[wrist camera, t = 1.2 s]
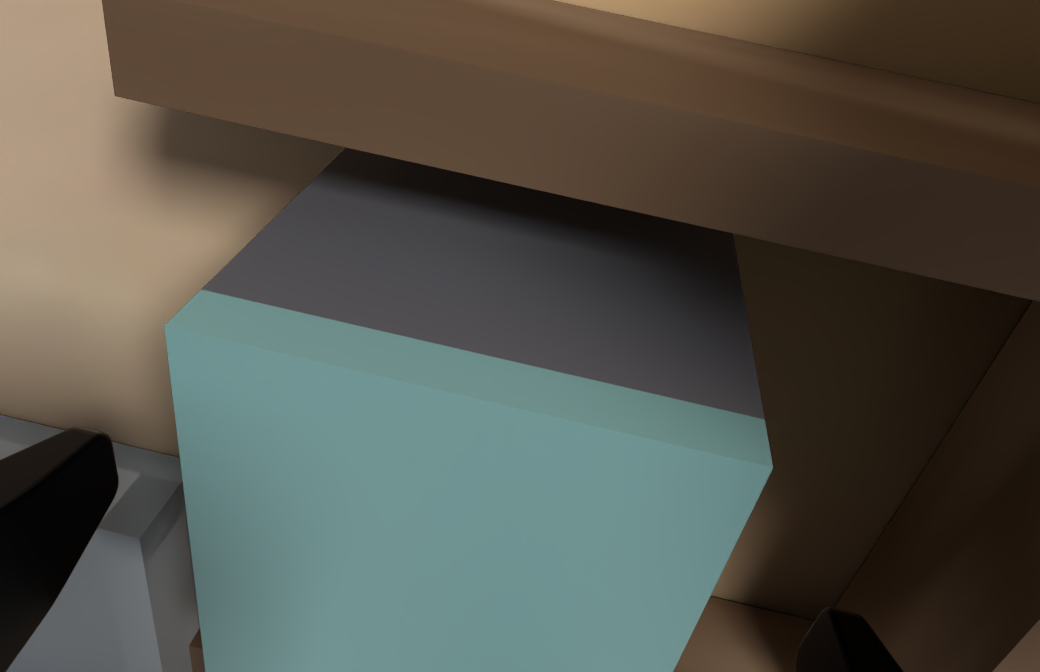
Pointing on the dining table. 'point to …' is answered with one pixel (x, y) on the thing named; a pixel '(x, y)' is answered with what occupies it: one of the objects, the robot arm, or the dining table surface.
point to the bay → (699, 201)
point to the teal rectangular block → (463, 430)
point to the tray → (121, 574)
